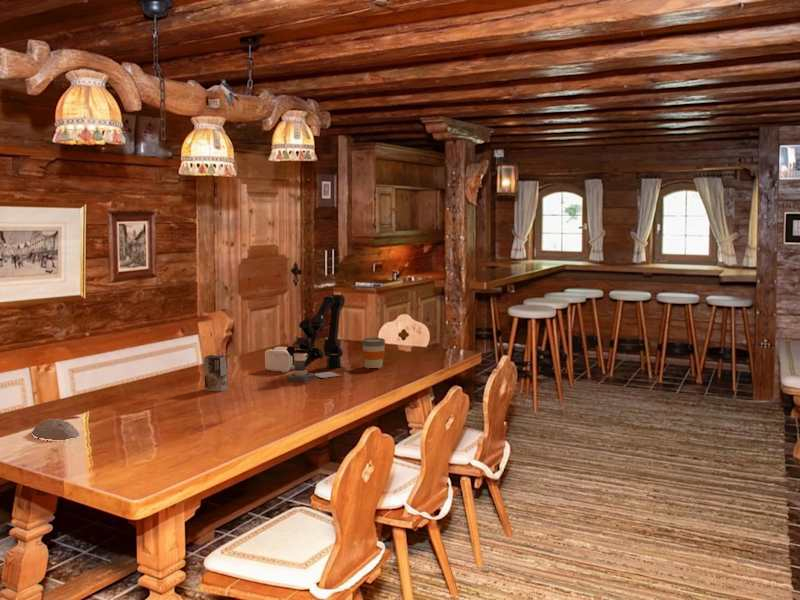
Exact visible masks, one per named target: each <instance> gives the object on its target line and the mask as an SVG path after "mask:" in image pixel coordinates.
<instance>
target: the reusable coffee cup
mask: <svg viewBox="0 0 800 600" xmlns="http://www.w3.org/2000/svg"><path fill="white" fill-rule="evenodd" d="M361 343H362V344H361V346H362V355H363V359H364V365H365V366H364V367H365V368H366V369H369V368H378V369H382V368H383V364H384V363H383V361H384V359H385V352H386V350H385V346H386V339H385V338H381V337H367V338H363V339H362V342H361ZM381 367H382V368H381Z"/></svg>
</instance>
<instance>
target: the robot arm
mask: <svg viewBox="0 0 800 600" xmlns="http://www.w3.org/2000/svg"><path fill="white" fill-rule="evenodd" d="M345 302H346V299H345V296H344V295H343V294H330V295H329V296H328V295H326V296H324V297H323V301H322V303H321V304H320V307H319V308H318V311H317V313H316V314H315V315H314V316H312V317H311V318H307V317H305V319H304V320H302V321H300V322H299V323H298V324H299V325H298V327H299V328H300V330H301V332H302V333H303V335H304V336H305V337H296V341H295V345H288V346H287V349H286V350H287V351H288V353H289V354H290V356H293V366H294V353H307V357H306V359H307V360H306V362H305V365H304V366H305V367H306V366H307V367H308V366H309V365H310V364H311V363H313V362H314V361H316V360H318V359H323V357H324V356H325V357H327V358H326V365H325V367H327V368H329V369H337V368H338V367H339V368H342V367H343V366H342V365H341V357H343V354H344V351H343V349H342V347H341V343H340V341H339V337H338V336H339V325H340V316H341V315H340V314H341V311H342V309H343V308H344V306H345ZM329 311H330V316H329V317H330V318H329V327H328V337H327V338H326V339H324V341H323V342H324V344H323V351H322V349H321V348H320V347H316V344H315V343H316V342H317V339H318V340H319V339H320V335H319V333H318V332H322V331H323V330H324V328H325V325H326V321H325V319H326V318H327V316H328V314H329ZM296 345H298V347H296ZM339 368H338V369H339Z"/></svg>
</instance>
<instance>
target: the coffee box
mask: <svg viewBox="0 0 800 600" xmlns="http://www.w3.org/2000/svg"><path fill="white" fill-rule="evenodd" d="M203 369H204V373H203V374H204V391H205V390H207V392H210V391H211V392H224V391H226V390H228V389H229V383H228V381H229V380H228V378H229V376H228V356H227V355H220V354H209V355H207V356H204V357H203Z"/></svg>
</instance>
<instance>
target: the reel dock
mask: <svg viewBox="0 0 800 600" xmlns="http://www.w3.org/2000/svg"><path fill="white" fill-rule="evenodd" d="M315 374H316V373H312V372H311V373H310V372H307V376H305V377H299V376H295V372H293V373H292V374H287V375H286V378H285V379H286V380H289V381H288V382H293V381H298V382H297V383H304V382H305V383H307V382H309V380H310V381H312V380H311V379H313V380H315V379H316V377H315ZM314 378H315V379H314ZM306 381H307V382H306Z"/></svg>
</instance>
